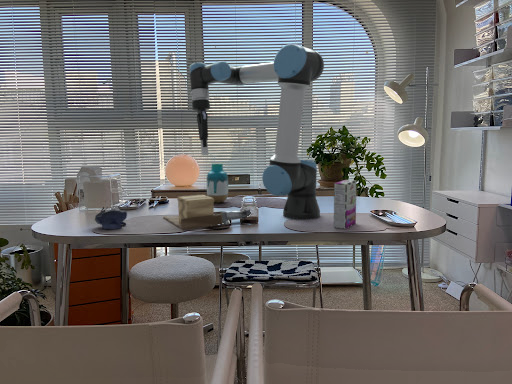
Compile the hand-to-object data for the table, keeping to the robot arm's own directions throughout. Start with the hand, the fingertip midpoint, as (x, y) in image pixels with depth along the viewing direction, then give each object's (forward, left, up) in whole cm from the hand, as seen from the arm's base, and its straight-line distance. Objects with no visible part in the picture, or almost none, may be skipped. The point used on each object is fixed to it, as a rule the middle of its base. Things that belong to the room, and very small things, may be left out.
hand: (205, 155), depth 173 cm
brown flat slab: (-9, +21, -25) cm, 34 cm away
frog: (+11, +42, -25) cm, 50 cm away
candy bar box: (-62, -3, -25) cm, 67 cm away
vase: (+9, -21, -25) cm, 34 cm away
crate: (-14, +24, -24) cm, 37 cm away
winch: (-25, +12, -25) cm, 37 cm away
